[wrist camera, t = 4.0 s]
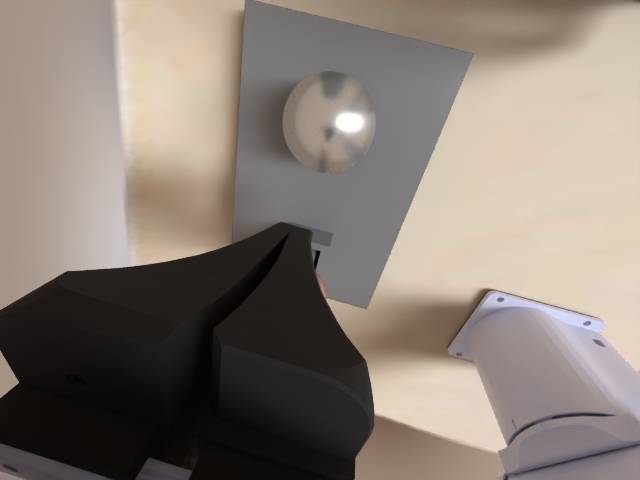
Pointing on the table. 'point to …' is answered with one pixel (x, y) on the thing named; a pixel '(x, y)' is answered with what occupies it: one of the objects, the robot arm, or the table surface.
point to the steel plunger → (329, 122)
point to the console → (364, 177)
